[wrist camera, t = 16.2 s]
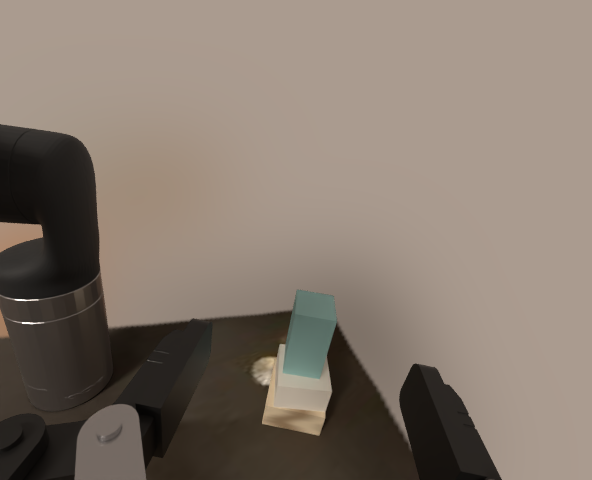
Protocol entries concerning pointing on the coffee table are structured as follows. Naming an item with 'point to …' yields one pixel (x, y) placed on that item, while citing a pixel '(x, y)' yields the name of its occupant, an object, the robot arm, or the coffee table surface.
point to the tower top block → (301, 388)
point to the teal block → (309, 334)
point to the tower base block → (291, 414)
